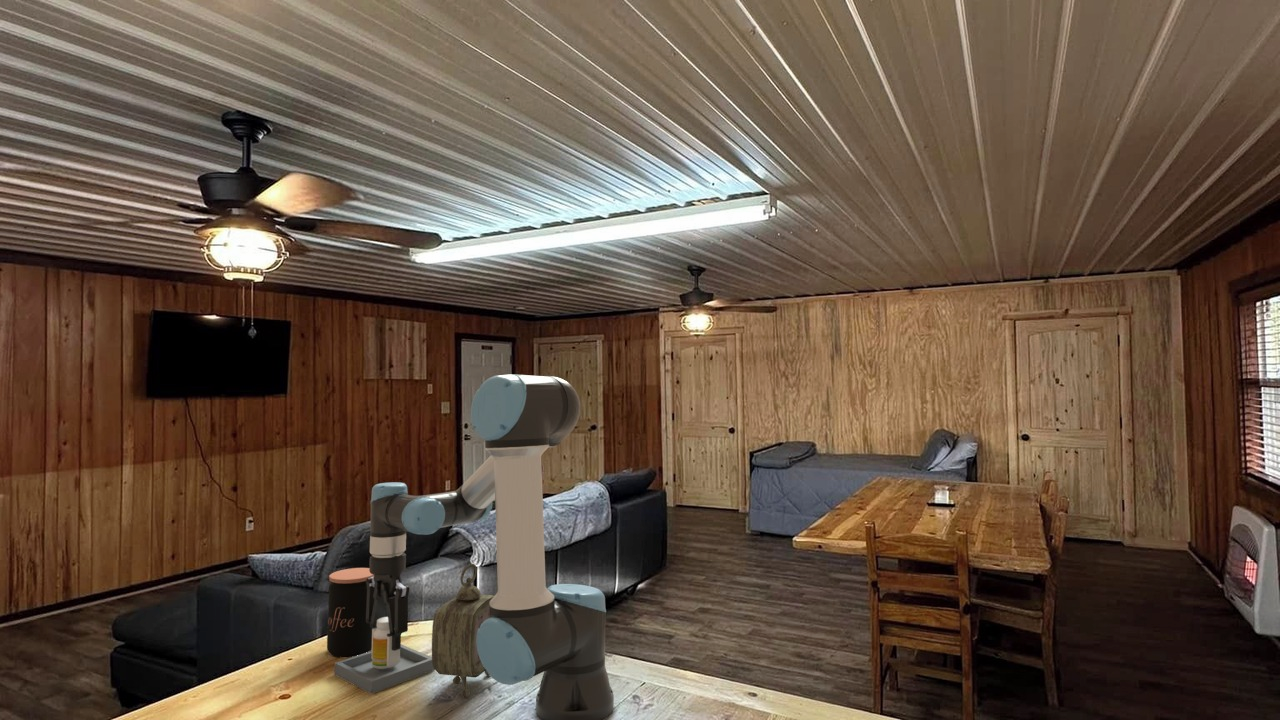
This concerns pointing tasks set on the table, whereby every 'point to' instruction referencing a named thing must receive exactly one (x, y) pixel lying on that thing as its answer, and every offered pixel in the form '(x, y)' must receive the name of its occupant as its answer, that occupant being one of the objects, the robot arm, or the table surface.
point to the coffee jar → (348, 613)
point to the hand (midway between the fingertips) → (385, 660)
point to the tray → (383, 670)
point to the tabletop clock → (460, 633)
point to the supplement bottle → (380, 644)
